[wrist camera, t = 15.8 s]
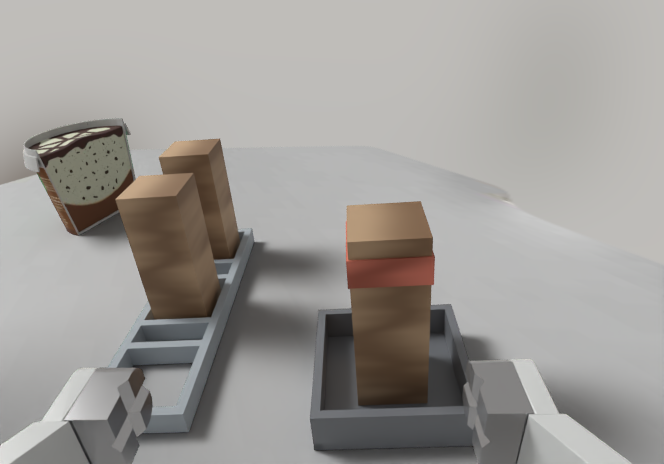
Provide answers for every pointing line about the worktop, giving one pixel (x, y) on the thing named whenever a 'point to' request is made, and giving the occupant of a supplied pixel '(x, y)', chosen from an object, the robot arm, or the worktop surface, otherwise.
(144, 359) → the holder
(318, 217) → the worktop surface
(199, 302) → the plain cartridge
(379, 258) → the block
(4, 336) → the worktop surface
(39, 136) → the food container
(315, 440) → the tray
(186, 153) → the plain cartridge
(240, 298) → the worktop surface
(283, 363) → the worktop surface
